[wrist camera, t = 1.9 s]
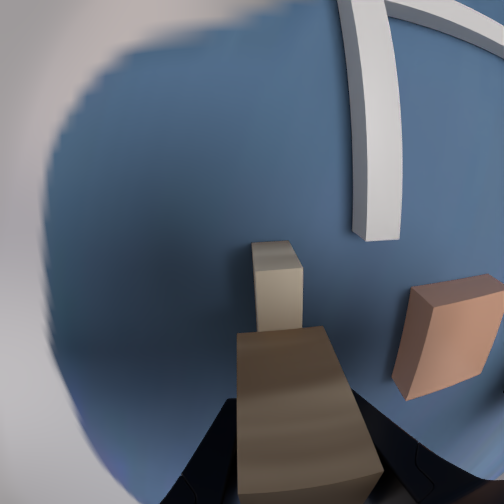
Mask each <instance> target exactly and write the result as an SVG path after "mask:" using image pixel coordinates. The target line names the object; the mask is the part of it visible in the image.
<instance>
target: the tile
mask: <svg viewBox="0 0 504 504" xmlns="http://www.w3.org/2000/svg"><path fill="white" fill-rule="evenodd" d="M503 313H504V284H503V283H502V282H500V281H498V280H497V279H495V278H494V277H492V276H491V275H489V274H484V275H479V276H474V277H468V278H463V279H457V280H451V281H445V282H439V283H433V284H427V285H420V286H414V287H411V291H410V297H409V303H408V308H407V313H406V318H405V323H404V328H403V333H402V337H401V342H400V346H399V350H398V354H397V358H396V362H395V366H394V369H393V373H392V379H393V380H394V382H395V384H396V385H397V387H398V389H399V391H400V392H401V394H402V396H403V397H404V399H405V401H408V400H411V399H414V398H417V397H420V396H423V395H427V394H430V393H432V392H435V391H438V390H441V389H444V388H446V387H449V386H452V385H454V384H457V383H460V382H462V381H465V380H467V379H469V378H472V377H474V376H476V375H479V374H481V371H482V369H483V367H484V365H485V362H486V360H487V358H488V355H489V353H490V350H491V348H492V345H493V342H494V340H495V337H496V334H497V331H498V328H499V326H500V323H501V320H502V316H503Z"/></svg>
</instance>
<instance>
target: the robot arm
mask: <svg viewBox="0 0 504 504" xmlns="http://www.w3.org/2000/svg"><path fill="white" fill-rule="evenodd" d="M351 391H352V393H353V395H354V398H355V400H356V403H357V405H358V407H359V410H360V412H361V415H362V417H363V419H364V422H365V424H366V427H367V429H368V432H369V434H370V437H371V439H372V442H373V444H374V446H375V449H376V452H377V454H378V457H379V459H380V462H381V464H382V467H383V469H384V472H383V474H382V475H381V477H380V478H379V480H378V482H377V483H376V485H375V487H374V488H373V490H372V491H371V493H370V494H369V496H368V497H367V499H366V500H365V502H364V503H363V504H504V480H485V479H481V478H478V477H476V476H474V475H472V474H470V473H468V472H466V471H464V470H462V469H461V468H459V467H457V466H455V465H453V464H451V463H450V462H448V461H446V460H444V459H443V458H441V457H439V456H438V455H436V454H435V453H433V452H432V451H431V450H429V449H428V448H426V447H425V446H424V445H422V444H421V443H420V442H419V443H418V441H417V440H416V439H414V438H413V437H412V436H410V435H409V434H408V433H407V432H405V431H404V430H403V429H401V428H400V427H399V426H398V425H396V424H395V423H394V422H392V421H391V420H390V419H389V418H387V417H386V416H385V415H384V414H382V413H381V412H380V411H378V410H377V409H376V408H375V407H373V406H372V405H371V404H370V403H369V402H367V401H366V400H365V399H364V398H362V397H361V396H360V395H359V394H357V393H356V392H355V391H354V390H353V389H351ZM503 393H504V391H503ZM181 475H182V476H179V478H178V479H177V481H176V483H175V484H174V485H173V487H172V488H171V490H170V491H169V492H168V494H167V495H166V496H165V498H164V499H163V500H162V501H161V502H160V504H240V500H239V496H238V474H237V398H229V399H227V400H226V401H225V403H224V405H223V407H222V408H221V410H220V412H219V413H218V415H217V417H216V418H215V420H214V422H213V423H212V425H211V427H210V428H209V430H208V432H207V433H206V435H205V437H204V438H203V440H202V442H201V443H200V445H199V446H198V448H197V450H196V451H195V453H194V454H193V456H192V458H191V459H190V461H189V462H188V464H187V466H186V467H185V469H184V470H183V472H182V473H181Z"/></svg>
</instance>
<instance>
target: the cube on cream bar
mask: <svg viewBox="0 0 504 504" xmlns="http://www.w3.org/2000/svg"><path fill="white" fill-rule="evenodd" d="M252 259H253V275H254V292H255V308H256V324H257V332H249V333H237V474H238V496H239V500H240V504H363V503H364V502H365V500H366V499H367V497H368V496H369V494H370V493H371V491H372V490H373V488H374V487H375V485H376V483H377V482H378V480H379V478H380V477H381V475H382V474H383V472H384V469H383V467H382V464H381V462H380V459H379V457H378V454H377V452H376V449H375V446H374V444H373V442H372V439H371V437H370V434H369V432H368V429H367V427H366V424H365V422H364V419H363V417H362V415H361V412H360V410H359V407H358V405H357V403H356V400H355V398H354V395H353V393H352V391H351V388H350V386H349V384H348V381H347V379H346V377H345V374H344V372H343V370H342V368H341V365H340V363H339V361H338V358H337V356H336V354H335V352H334V349H333V347H332V345H331V343H330V340H329V338H328V336H327V334H326V331H325V329H324V327H323V326H316V327H307V328H302V312H303V267H302V265H301V263H300V261H299V259H298V257H297V255H296V254H295V252H294V250H293V248H292V246H291V244H290V242H289V241H272V242H257V243H252Z"/></svg>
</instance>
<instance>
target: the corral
mask: <svg viewBox="0 0 504 504" xmlns="http://www.w3.org/2000/svg"><path fill="white" fill-rule="evenodd" d="M337 3H338V9H339V15H340V21H341V27H342V34H343V41H344V49H345V57H346V66H347V75H348V86H349V97H350V111H351V128H352V154H353V222H352V231H353V232H354V233H355V234H357V235H358V236H359V237H361V238H362V239H363V240H365V241H380V240H396V239H399V236H400V222H401V204H402V129H401V112H400V99H399V88H398V79H397V70H396V63H395V56H394V49H393V43H392V37H391V32H390V26H389V21H388V17H387V16H389V17H393V18H397V19H401V20H405V21H409V22H412V23H416V24H419V25H422V26H425V27H429V28H432V29H435V30H438V31H440V32H443V33H446V34H449V35H451V36H454V37H457V38H459V39H462V40H464V41H467V42H469V43H471V44H474V45H476V46H478V47H480V48H483V49H485V50H487V51H489V52H491V53H493V54H495V55H497V56H499V57H501V58H503V59H504V26H503V25H501V24H499V23H497V22H496V21H494V20H492V19H490V18H489V17H487V16H485V15H483V14H481V13H479V12H477V11H475V10H473V9H471V8H469V7H467V6H465V5H463V4H461V3H459V2H456V1H454V0H337Z"/></svg>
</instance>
